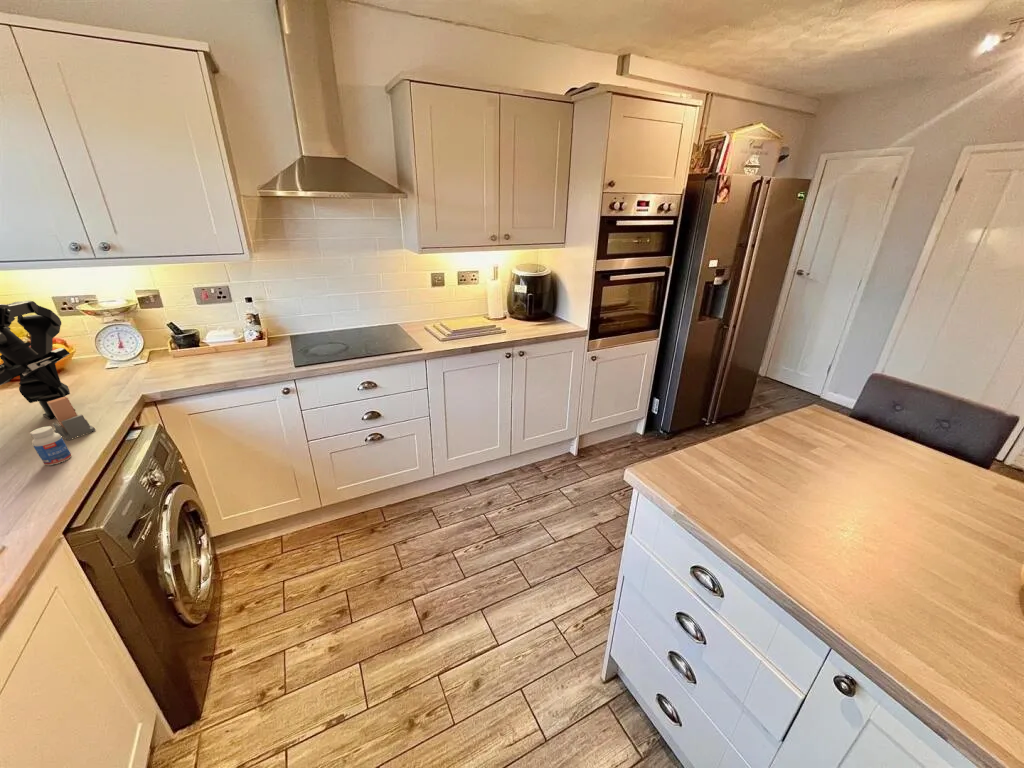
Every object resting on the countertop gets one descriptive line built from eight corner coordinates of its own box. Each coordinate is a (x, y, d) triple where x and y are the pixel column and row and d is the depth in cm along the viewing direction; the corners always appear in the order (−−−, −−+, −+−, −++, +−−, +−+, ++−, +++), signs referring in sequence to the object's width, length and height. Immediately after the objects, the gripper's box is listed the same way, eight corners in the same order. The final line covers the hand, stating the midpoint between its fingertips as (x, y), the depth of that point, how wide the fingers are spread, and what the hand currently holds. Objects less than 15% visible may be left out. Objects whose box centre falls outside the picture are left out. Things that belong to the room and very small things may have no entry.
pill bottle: (54, 467, 110) (35, 436, 106) (39, 465, 111) (19, 434, 107) (77, 455, 115) (60, 425, 111) (63, 453, 116) (45, 424, 112)
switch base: (55, 433, 126) (45, 416, 124) (82, 423, 131) (73, 407, 129) (68, 440, 122) (58, 423, 119) (95, 430, 127) (86, 413, 124)
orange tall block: (63, 430, 125) (46, 401, 121) (80, 424, 128) (64, 396, 124) (66, 432, 124) (49, 403, 120) (83, 426, 127) (67, 397, 123)
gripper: (21, 348, 131) (66, 386, 137) (-44, 371, 114) (11, 413, 120) (47, 331, 129) (91, 370, 136) (-15, 352, 113) (39, 395, 119)
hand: (59, 386), depth 128 cm, fingers closed
